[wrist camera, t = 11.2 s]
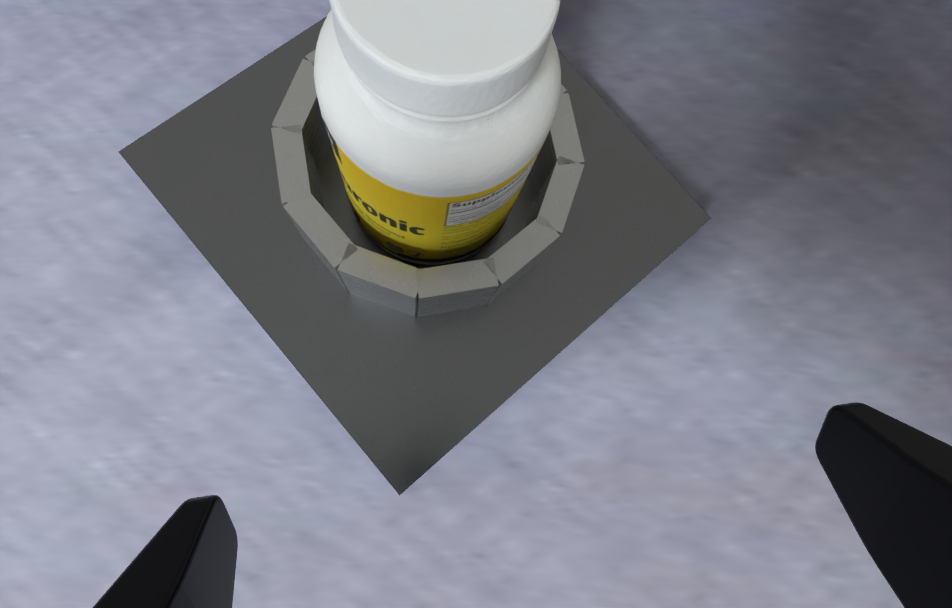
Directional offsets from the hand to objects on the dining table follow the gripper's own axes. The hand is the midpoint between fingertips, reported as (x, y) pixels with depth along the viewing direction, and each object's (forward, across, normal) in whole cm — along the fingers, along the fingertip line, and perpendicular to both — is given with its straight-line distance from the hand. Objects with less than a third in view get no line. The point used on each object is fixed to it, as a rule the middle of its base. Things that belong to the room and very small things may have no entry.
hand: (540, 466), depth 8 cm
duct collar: (+13, +1, +1) cm, 13 cm away
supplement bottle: (+13, +1, +1) cm, 13 cm away
